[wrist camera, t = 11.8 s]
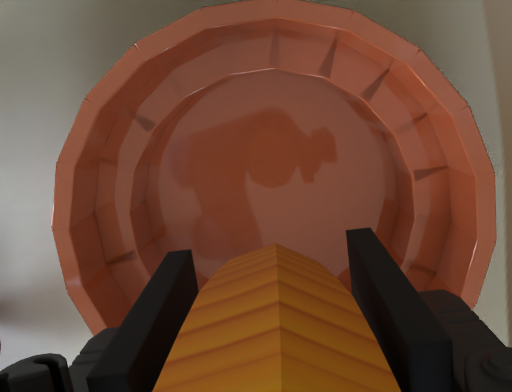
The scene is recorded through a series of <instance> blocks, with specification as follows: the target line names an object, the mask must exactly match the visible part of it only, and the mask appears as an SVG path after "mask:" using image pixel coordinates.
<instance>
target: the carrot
mask: <svg viewBox="0 0 512 392" xmlns="http://www.w3.org/2000/svg"><path fill="white" fill-rule="evenodd" d="M152 392H401V390H400V388H399V386H398V384H397V382H396V379H395V377H394V375H393V373H392V371H391V369H390V367H389V365H388V363H387V361H386V358H385V356H384V354H383V352H382V350H381V348H380V346H379V344H378V342H377V340H376V338H375V336H374V334H373V332H372V330H371V329H370V327H369V325H368V323H367V321H366V319H365V317H364V316H363V314H362V312H361V310H360V308H359V306H358V304H357V303H356V301H355V299H354V297H353V296H352V295H351V294H350V292H349V291H348V290H347V289H346V288H345V287H344V286H343V285H342V283H341V282H340V281H339V280H338V279H337V278H336V277H335V276H334V275H333V274H332V273H331V272H330V271H329V270H328V269H326V268H325V267H324V266H323V265H322V264H321V263H320V262H318V261H316V260H313V259H311V258H309V257H306V256H304V255H302V254H299V253H297V252H295V251H293V250H290V249H288V248H286V247H283V246H281V245H279V244H276V243H274V244H271V245H268V246H265V247H263V248H260V249H257V250H254V251H251V252H248V253H246V254H243V255H240V256H237V257H234V258H232V259H230V260H228V261H227V262H226V263H225V264H224V265H223V266H222V267H221V268H220V269H219V270H218V271H216V273H215V274H214V275H213V276H212V277H211V278H210V279H209V281H208V282H207V283H206V284H205V285H204V286H203V288H202V289H201V290H200V291H199V293H198V295H197V297H196V299H195V301H194V303H193V305H192V307H191V309H190V311H189V313H188V315H187V317H186V319H185V321H184V323H183V325H182V327H181V329H180V331H179V333H178V335H177V338H176V340H175V342H174V344H173V346H172V349H171V351H170V353H169V355H168V358H167V360H166V362H165V364H164V367H163V369H162V371H161V373H160V376H159V378H158V380H157V382H156V384H155V387H154V389H153V391H152Z"/></svg>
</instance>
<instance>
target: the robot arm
mask: <svg viewBox="0 0 512 392" xmlns="http://www.w3.org/2000/svg"><path fill="white" fill-rule="evenodd" d="M346 238H347V248H348V258H349V268H350V278H351V288H352V296H353V297H354V299H355V301H356V303H357V304H358V306H359V308H360V310H361V312H362V314H363V316H364V317H365V319H366V321H367V323H368V325H369V327H370V329H371V330H372V332H373V334H374V336H375V338H376V340H377V342H378V344H379V346H380V348H381V350H382V352H383V354H384V356H385V358H386V361H387V363H388V365H389V367H390V369H391V371H392V373H393V375H394V377H395V379H396V382H397V384H398V386H399V388H400V390H401V392H512V348H510V347H506V346H505V345H504V344H503V343H502V342H501V341H500V340H499V339H498V338H497V336H496V335H495V334H494V333H493V332H492V331H491V330H490V329H489V328H488V327H487V326H486V325H485V323H484V322H483V321H482V320H479V317H478V316H477V315H476V314H475V313H474V312H473V310H472V311H471V308H470V307H469V306H468V305H467V304H466V303H465V302H464V301H463V300H462V298H461V297H459V296H457V295H455V294H453V293H450V292H448V291H446V290H444V289H439V290H430V291H421V292H417V291H416V289H415V288H414V287H413V285H412V284H411V283H410V281H409V280H408V278H407V277H406V276H405V274H404V273H403V272H402V270H401V269H400V267H399V266H398V265H397V263H396V262H395V261H394V259H393V258H392V257H391V255H390V254H389V252H388V251H387V250H386V248H385V247H384V246H383V244H382V243H381V241H380V240H379V239H378V237H377V236H376V235H375V233H374V232H373V231H372V229H371V228H370V227H368V228H360V229H352V230H346ZM198 293H199V290H198V284H197V278H196V273H195V267H194V262H193V256H192V250H191V249H188V250H179V251H171V252H168V253H167V254H166V256H165V257H164V259H163V260H162V262H161V263H160V265H159V266H158V268H157V270H156V271H155V273H154V274H153V276H152V277H151V279H150V280H149V282H148V283H147V285H146V286H145V288H144V289H143V291H142V293H141V294H140V296H139V297H138V299H137V300H136V302H135V303H134V305H133V306H132V308H131V309H130V311H129V312H128V314H127V316H126V317H125V319H124V320H123V322H122V323H121V325H120V326H119V327H113V328H105V329H103V330H102V331H101V332H99V333H98V334H97V335H95V336H94V337H92V338H91V339H90V340H89V341H88V342H87V343H86V345H85V346H84V348H83V349H82V350H81V352H80V355H78V356H77V357H76V358H75V360H74V361H73V362H72V365H71V366H69V368H68V365H67V361H66V358H64V357H63V356H62V355H60V354H51V353H49V354H41V355H35V356H32V357H29V358H26V359H23V360H20V361H18V362H16V363H14V364H12V365H10V366H8V367H6V368H5V369H3V370H2V371H0V392H152V391H153V389H154V387H155V384H156V382H157V380H158V378H159V376H160V373H161V371H162V369H163V367H164V364H165V362H166V360H167V358H168V355H169V353H170V351H171V349H172V346H173V344H174V342H175V340H176V338H177V335H178V333H179V331H180V329H181V327H182V325H183V323H184V321H185V319H186V317H187V315H188V313H189V311H190V309H191V307H192V305H193V303H194V301H195V299H196V297H197V295H198Z"/></svg>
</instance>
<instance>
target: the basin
mask: <svg viewBox="0 0 512 392" xmlns="http://www.w3.org/2000/svg"><path fill="white" fill-rule="evenodd" d="M368 227H370V228H371V229H372V231H373V232H374V233H375V235H376V236H377V237H378V239H379V240H380V241H381V243H382V244H383V246H384V247H385V248H386V250H387V251H388V252H389V254H390V255H391V257H392V258H393V259H394V261H395V262H396V263H397V265H398V266H399V267H400V269H401V270H402V272H403V273H404V274H405V276H406V277H407V278H408V280H409V281H410V283H411V284H412V285H413V287H414V288H415V289H416V291H417V292H421V291H430V290H439V289H444V290H446V291H448V292H450V293H453V294H455V295H457V296H459V297H461V298H462V300H463V301H464V302H465V303H466V304H467V305H468V306H469V307H470V308H471V311H472V309H473V308H474V307H475V304H477V301H478V298H479V295H480V291H481V288H482V285H483V282H484V279H485V275H486V272H487V269H488V266H489V263H490V259H491V256H492V253H493V250H494V247H495V243H496V201H495V172H494V169H493V166H492V164H491V161H490V158H489V156H488V153H487V150H486V148H485V145H484V143H483V140H482V137H481V135H480V132H479V129H478V127H477V124H476V122H475V119H474V116H473V114H472V111H471V108H470V106H469V105H468V104H467V102H466V101H465V99H464V98H463V97H462V96H461V95H460V94H459V92H458V91H457V90H456V89H455V88H454V87H453V85H452V84H451V83H450V82H449V81H448V80H447V78H446V77H445V76H444V75H443V74H442V73H441V71H440V70H439V69H438V68H437V67H436V66H435V64H434V63H433V62H432V61H431V60H430V58H429V57H428V56H427V55H426V54H425V53H424V51H423V50H421V49H420V48H419V47H418V46H416V45H415V44H413V43H411V42H410V41H408V40H406V39H404V38H403V37H401V36H399V35H397V34H396V33H394V32H392V31H390V30H389V29H387V28H385V27H383V26H382V25H380V24H378V23H376V22H375V21H373V20H371V19H369V18H368V17H366V16H364V15H363V14H361V13H359V12H357V11H353V10H352V9H347V8H342V7H336V6H331V5H325V4H320V3H315V2H309V1H304V0H246V1H239V2H233V3H226V4H220V5H213V6H207V7H202V8H199V9H197V10H195V11H193V12H191V13H190V14H188V15H186V16H184V17H182V18H180V19H178V20H176V21H175V22H173V23H171V24H169V25H167V26H165V27H163V28H161V29H160V30H158V31H156V32H154V33H152V34H150V35H148V36H146V37H145V38H143V39H141V40H139V41H137V42H135V44H134V45H132V46H131V47H130V48H129V49H128V50H127V51H126V53H125V54H124V55H123V56H122V57H121V58H120V59H119V60H118V61H117V62H116V63H115V65H114V66H113V67H112V68H111V69H110V70H109V71H108V72H107V73H106V74H105V75H104V76H103V78H102V79H101V80H100V81H99V82H98V83H97V84H96V85H95V86H94V87H93V88H92V89H91V91H90V92H89V93H88V94H87V95H86V98H84V100H83V102H82V104H81V107H80V109H79V111H78V114H77V116H76V118H75V121H74V123H73V125H72V128H71V130H70V132H69V134H68V137H67V139H66V141H65V144H64V146H63V148H62V151H61V153H60V155H59V157H58V161H57V162H56V174H55V187H54V200H53V213H52V225H51V228H52V232H53V236H54V240H55V244H56V248H57V252H58V257H59V261H60V265H61V269H62V273H63V277H64V281H65V285H66V289H67V291H68V292H67V293H68V295H69V296H70V298H71V299H72V301H73V303H74V304H75V306H76V308H77V309H78V311H79V313H80V314H81V316H82V317H83V319H84V321H85V322H86V324H87V326H88V327H89V329H90V330H91V332H92V334H93V335H94V336H95V335H97V334H98V333H99V332H101V331H102V330H103V329H105V328H113V327H119V326H120V325H121V323H122V322H123V320H124V319H125V317H126V316H127V314H128V312H129V311H130V309H131V308H132V306H133V305H134V303H135V302H136V300H137V299H138V297H139V296H140V294H141V293H142V291H143V289H144V288H145V286H146V285H147V283H148V282H149V280H150V279H151V277H152V276H153V274H154V273H155V271H156V270H157V268H158V266H159V265H160V263H161V262H162V260H163V259H164V257H165V256H166V254H167V253H168V252H171V251H179V250H188V249H191V250H192V256H193V262H194V267H195V273H196V278H197V284H198V290H199V291H200V290H201V289H202V288H203V286H204V285H205V284H206V283H207V282H208V281H209V279H210V278H211V277H212V276H213V275H214V274H215V273H216V271H218V270H219V269H220V268H221V267H222V266H223V265H224V264H225V263H226V262H227V261H228V260H230V259H232V258H234V257H237V256H240V255H243V254H246V253H248V252H251V251H254V250H257V249H260V248H263V247H265V246H268V245H271V244H274V243H276V244H279V245H281V246H283V247H286V248H288V249H290V250H293V251H295V252H297V253H299V254H302V255H304V256H306V257H309V258H311V259H313V260H316V261H318V262H320V263H321V264H322V265H323V266H324V267H325V268H326V269H328V270H329V271H330V272H331V273H332V274H333V275H334V276H335V277H336V278H337V279H338V280H339V281H340V282H341V283H342V285H343V286H344V287H345V288H346V289H347V290H348V291H349V292H350V294H351V295H352V288H351V278H350V268H349V258H348V248H347V238H346V230H352V229H360V228H368Z"/></svg>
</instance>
